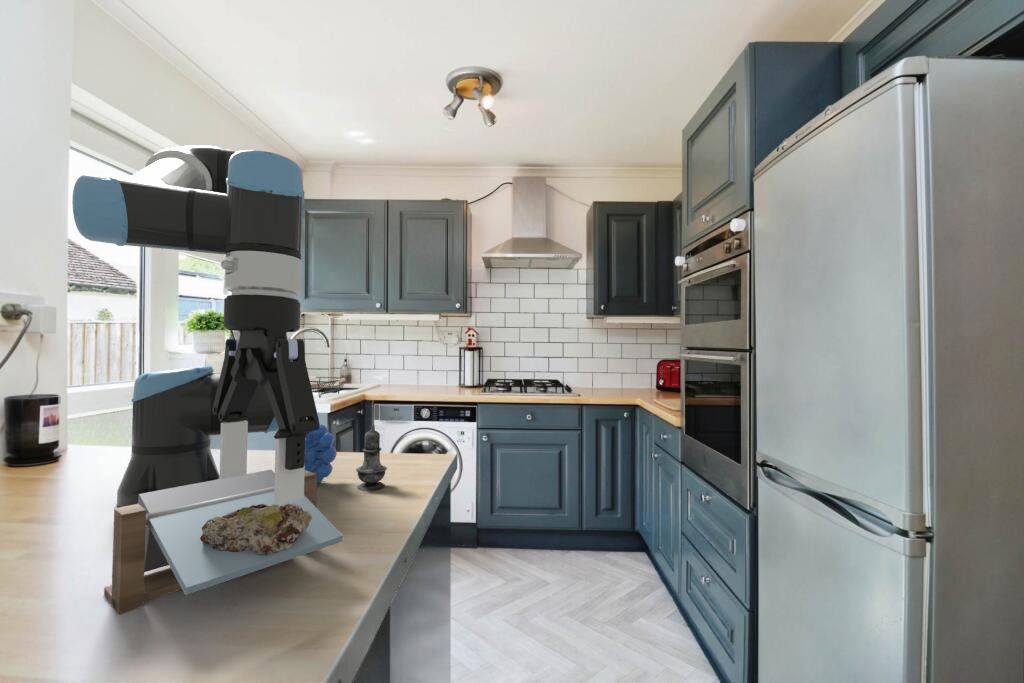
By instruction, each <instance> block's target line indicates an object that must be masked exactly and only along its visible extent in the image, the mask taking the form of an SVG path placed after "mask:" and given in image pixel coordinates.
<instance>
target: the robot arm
mask: <svg viewBox="0 0 1024 683" xmlns="http://www.w3.org/2000/svg"><path fill="white" fill-rule="evenodd" d="M303 179H304V178H303V171H302V169H301V167H300V165H299V164H298V163H297V162H296V161H294V160H292V159H291V158H289V157H287V156H284V155H283V154H279V153H275V152H271V151H266V150H258V149H245V150H239V151H238V150H233V149H226V148H221V147H219V146H212V145H196V144H195V145H184V146H176V147H171V148H166V149H162V150H160V151H158V152H155V153H154V154H153V155H151V156H150V157H149V159H148V160H147V162H146V164H145V166H144V168H143V169H141V170H140V171H137V172H136V173H134V174H132V175H131V176H129V177H126V178H123V177H122V178H121V177H117V176H115V175H112V174H108V175H97V174H89V173H87V174H82V175H80V176H79V177H78V178H77V179H76V180H75V181H76V182H75V183H74V186H73V191H72V213H73V220H74V224H75V225H76V227H75V228H76V229H77V230H78V233H79V234H80V235H81V236H83V238H85V239H86V240H88V241H91V242H99V243H106V244H113V245H116V246H118V247H123V246H124V247H125V246H130V247H139V248H142V247H143V248H152V249H162V250H163V249H165V250H175V251H176V250H178V251H187V252H195V253H207V254H213V255H214V254H215V255H223V256H224V255H225V260H222V261H221V262H220V267H221V268H222V269H223V270H225V273H224V274H225V278H224V281H225V283H224V288H225V289H226V290H227V292H230V293H231V294H230V295H226V297H225V298H224V299H223V301H224V302H223V327H224V328H225V330H228V331H236V332H235V333H236V335H235V338H227V339H226V340H225V346H224V357H223V358H224V359H223V361H222V367H221V370H220V373H219V372H216V373H214V369H213V367H212V365H201V366H190V367H189V366H188V367H182V368H180V367H179V368H173V369H172V368H171V369H163V370H157V371H156V370H155V371H149V372H144V373H142V374H140V375H139V376H137V378H135V380H134V386H133V393H132V394H133V395H132V399H131V403H132V425H131V426H132V427H131V455H130V456H131V457H130V460H129V463H128V465H127V467H126V469H125V472H124V474H123V477H122V479H121V481H120V483H119V486H118V489H117V493H116V505H117V506H118V507H124V506H129V505H134V504H138V498H139V494H142V493H147V492H153V491H158V490H163V489H169V488H174V487H180V486H185V485H190V484H196V483H201V482H207V481H212V480H217V479H226V478H232V477H237V476H242V475H247V474H248V473H247V467H248V434H253V433H264V434H268V433H270V432H275V434H274V435H273V438H274V439H275V442H274V444H275V448H274V449H275V450H274V451H275V452H274V473H275V483H274V503H276V504H280V503H284V502H288V501H292V500H296V499H300V498H304V472H305V437H306V435H308V434H309V432H312V431H317V430H318V429H319V427H320V425H321V424H320V419H319V415H318V410H317V407H316V406H317V405H316V402H315V401H316V400H315V398H314V393H313V388H312V385H311V380H310V376H309V371H308V367H307V363H306V351H305V350H306V349H305V346H306V345H305V341H304V339H301V338H288V335H287V333H296V332H298V331H299V330H300V328H301V302H299V301H300V300H299V299H297V298H296V297H297V296H299V295H301V294H302V270H303V268H302V266H303V265H302V264H303V261H302V253H301V252H302V235H303V234H302V232H303V222H304V220H305V215H306V214H305V213H306V210H305V207H306V206H305V191H304V190H305V189H304V184H303V183H304V182H303ZM212 436H220V444H219V445H220V447H219V470H218V467H217V464H216V462H215V458H214V457H213V453H212V450H211V441H212V440H211V437H212Z"/></svg>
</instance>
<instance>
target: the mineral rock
mask: <svg viewBox="0 0 1024 683" xmlns="http://www.w3.org/2000/svg"><path fill="white" fill-rule="evenodd" d="M278 506H279V505H275V504H272V505H271V506H268V505H265V504H259V505H256V506H255V505H253V506H252V505H251V506H250V507H248V508H247V507H243V508H242V509H240V510H236V511H234V512H231V513H228V514H227V515H225V516H222V517H215V518H211V519H209V520H208V521H207V522H206V523H205V524H204V526H203V527H202V531H203V533H202V536H201V537H200V540H201V541H202V542H203V543H207V544H211V545H212V548H213V549H217V550H219V551H224V550H225V551H229V552H240V551H246V550H247V551H254V552H257V553H258V554H266V555H267V554H271V553H278V552H279V551H281V550H283V549H289V548H290V547H291V546H292V545H293V543H294V542H295V541H296V540H297V538H299V536H301V535H302V534H303V533H304V532H305V530H306V529H307V527H308V525H309V523H310V521H311V520H312V515H311V514H310V513H309V512H308V511H303V510H302V508H301V506H299V505H296V504H295V503H294V504H285V505H284V506H279V507H278Z"/></svg>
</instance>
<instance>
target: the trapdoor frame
mask: <svg viewBox="0 0 1024 683" xmlns="http://www.w3.org/2000/svg"><path fill="white" fill-rule="evenodd" d="M317 485H318V484H317V474H315V473H312V472H309V471H306V470H305V472H304V496H305V497H306V498H307V499H308V500H309V501H310V502H311V503H312V504H313V505H314V506H315V507H316V508H317V494H318V493H317V487H318V486H317ZM145 535H146V509H144V508H143V507H142V506H140V505H139V504H134V505H129V506H124V507H120V506H118V507H115V508H114V511H113V538H112V539H113V540H112V541H113V542H112V569H111V570H112V571H111V574H112V575H111V576H112V577H111V584H110V585H108V586H104V588H103V593H104V597H105V598H106V599H107V601H109V603H110V604H111V605H112V607H113V608H114V610H115V611H116V612H117V614H118V615H122V614H125V613H127V612H130V611H134V610H136V609H139V608H141V607H144V603H145V602H147V601H150V600H154V599H156V598H158V597H163V596H165V595H169V594H171V593H174V592H177V591H181V590H182V588H181V586H180V585H179V583H178V581H177V579H176V577H175V575H174V573H173V571H172V569H171V568H170V567H167V568H164V569H161V570H158V571H154V572H151V573H148V574H145V572H144V569H145Z"/></svg>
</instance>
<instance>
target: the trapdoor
mask: <svg viewBox="0 0 1024 683" xmlns="http://www.w3.org/2000/svg"><path fill="white" fill-rule="evenodd" d="M274 483H275V471H274V470H273V469H267V470H260V471H256V472H255V471H254V472H250V473H247V475H242V476H237V477H232V478H226V479H217V480H212V481H207V482H201V483H196V484H190V485H185V486H180V487H174V488H169V489H163V490H158V491H153V492H147V493H142V494H139V498H138V504H139V505H140V506H142V507H143V508H144V509H146V535H145V569H144V573H147V572H150V571H154V570H156V569H160V568H163V567H164V568H165V567H168V566H169V568H171V569H172V571H173V573H174V575H175V577H176V579H177V581H178V583H179V585H180V586H181V588H182V589H181V590H182V592H183V593H184V596H187V595H189V594H193V593H196V592H198V591H201V590H204V589H207V588H211V587H212V586H216V585H219V584H222V583H225V582H228V581H230V580H234V579H237V578H240V577H242V576H246V575H249V574H251V573H254V572H257V571H260V570H263V569H266V568H268V567H271V566H274V565H278V564H280V563H283V562H286V561H289V560H293V559H295V558H298V557H300V556H303V555H307V554H310V553H312V552H315V551H318V550H321V549H323V548H326V547H330V546H333V545H335V544H338V543H342V542H343V539H344V538H343V537H344V535H343V534H342V532H341V531H340V530H339V529H337V527H336V526H334V524H333V523H332V522H331V521H330V520H329V519H328V518H327V517H326V516H325V515H324V514H323V513H322V512H321V511H320V510H319V509H318V508H317V506H316V507H315V506H314V505H313V504H312V503H311V502H310V501H309V500H308V499H307V498H306V497H305V496H304V498H300V499H296V500H292V501H288V502H284V503H280V504H276V503H274ZM294 503H295V504H296V505H299V506H301V508H302V510H303V511H308V512H309V513H310V514H311V515H312V520H311V521H310V523H309V525H308V527H307V529H306V530H305V532H304V533H303V534H302V535H301V536H299V538H297V540H296V541H295V542H294V543H293V545H292V546H291V547H290V548H289V549H283V550H281V551H279V552H278V553H271V554H267V555H266V554H258V553H257V552H254V551H247V550H246V551H240V552H229V551H225V550H224V551H219V550H217V549H213V548H212V545H211V544H207V543H203V542H202V541H201V540H200V537H201V536H202V533H203V531H202V527H203V526H204V524H205V523H206V522H207V521H208V520H209V519H211V518H215V517H222V516H225V515H227V514H228V513H231V512H234V511H236V510H240V509H242V508H243V507H247V508H248V507H250V506H251V505H252V506H253V505H255V506H256V505H259V504H265V505H268V506H271V505H272V504H275V505H279V506H284V505H285V504H294ZM279 506H278V507H279Z"/></svg>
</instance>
